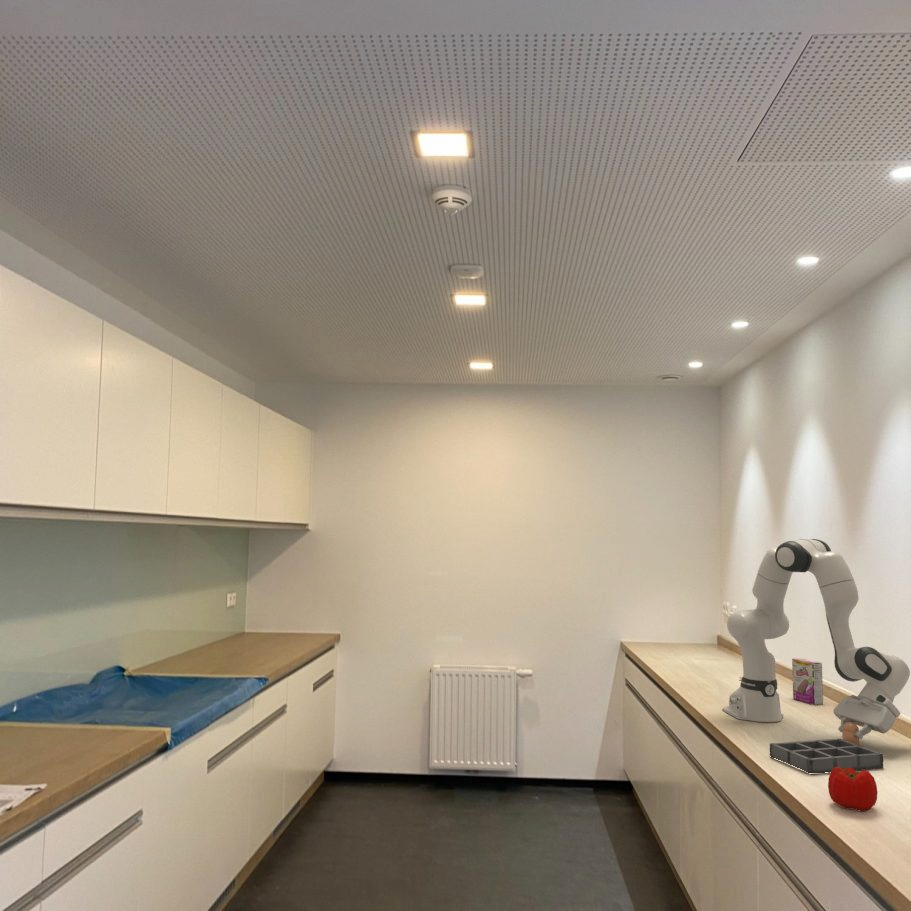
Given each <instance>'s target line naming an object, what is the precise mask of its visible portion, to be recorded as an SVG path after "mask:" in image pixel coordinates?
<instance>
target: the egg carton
mask: <svg viewBox="0 0 911 911" xmlns="http://www.w3.org/2000/svg"><path fill="white" fill-rule="evenodd" d="M770 756H771V757H773V758H776V759H778V760H781V761H783V762H786V763H788V764H790V765H793V766H795V767H797V768H800V769H802V770H804V771H806V772H808V773H823V774H826V773H825V772H831V771H832V770H833V769H834V768H835V767H840V768H841V769H842V770H843V769H845V768H853V769H854V770H855V771H856V772H858V771H862V770H865V771H869V770H879V769H881V768H882V769H884V754H883V753H882V752H878V751H875V750H873V749H870V748H868V747H865V746H861V745H860V746H859V745H856V744H853V743H851V742H848V741H845V740H843V738H830V739H829V738H827V739H814V740H801V741H787V742H786V741H784V742H772V743H769V757H770ZM771 757H770V758H771ZM773 758H772V759H773ZM778 760H777V761H778Z"/></svg>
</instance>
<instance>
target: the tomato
mask: <svg viewBox="0 0 911 911" xmlns="http://www.w3.org/2000/svg"><path fill="white" fill-rule="evenodd" d="M827 782H828V783H827V787H828V794H829V797H830V799H831V800H832V801H833V803H835V804H836V805H838V807H842V808H844V809H847V808H848V809H849V810H850V809H851V810H856V811H858V810H860V812H867V811H871V809H872V808H873V807H874V806H876V803H877V799H878V785H877V782H876V779H875V777H874V776H873V775H872V774H871V772H870V771H869V770H858V771H855V770H854V769H853V768H845V769H843V770H842V769H841V768H840V767H835V768H834V769H833V770H832V771H831V773H829V777H828V781H827ZM848 809H847V810H848Z"/></svg>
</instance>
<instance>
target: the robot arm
mask: <svg viewBox="0 0 911 911" xmlns="http://www.w3.org/2000/svg"><path fill="white" fill-rule="evenodd" d="M806 572H809V573H811V574H813V576H814V577H815V579H816V583H817V585H818V588H819V591H820V594H821V597H822V601H823V604H824V610H825V611H824V612H825V616H826V621H827V625H828V629H829V633H830V637H831V643H832V644H833V649H834V650H833V651H834V660H833V662H834V668H835V671H836V672H837V674H838V676H840V677H841V678H842V679H844V680H845V681H848V682H852V683H853V682H858V681H861V680H864V681H865V682H866V684H865V685H864V687H863V688H862V690H860V692H859V693H858V695H855V694H852V695H848V696H845V697H844V698H843V699H841V701H839V703H838V704H837V705H836V706H835V707H834V709H833V714H834V715H835V717H837V719H839V720H840V725H839V727H838V729H837V730H838V731H839V732H840V733H842V727H843V725H844V724H845V723H847V722H852V723H854V724H856V725H857V726H858V727H861V729H859V731H858V730H857V731H856V733H855V736H856V737H857V738H859V739H860V740H861V739H863V737H864V736H866V735H868V734H870V733H871V732H872V731H875V732H878V733H881V734H885V733H888V732H889V731H890V730H891V729H892V727H893V726H894V724H895V722H896V720H897V718H899V717H900V716H901V712H900V710H899V709H898V708H897V707H896V705H895V704H894V703H893V702H894V700H895V698H896V696H897V695H899V694H900V693H901V692H902V690H903V689H904V688H905V686H906V684H907V682H908V680H909V679H910V675H911V670H910V668H909V666H908V665H907V663H906V662H905V661H904V660H903V659H902V658H899V657H898V656H895V655H889V654H886V653H885V654H884V653H882V652H880V651H878V650H877V649H876V648H873V647H871V646H861V647H857V648H856V646H855V643H854V640H853V636H852V632H851V628H850V623H849V621H850V617H851V615H852V612H853V610H854V609H855V607H856V606H857V605H858V602H859V590H858V587H857V584H856V582H855V579H854V577H853V573H852V571H851V570H850V568H849V565H848V564H847V562H846V560H845V559H844V557H843V555H841V553H840V552H837V551H832V550H831V547H830V545H828V543H827V542H825V541H823V540H821V539H817V538H810V539H809V538H800V539H796V540H787V541H784V542H782V543H781V544H780V545H778V546H773V547H771V548H769V549H767V551H766V553H765V554H764V556H763V558H762V560H761V563H760V564H759V568H758V570H757V573H756V577H755V580H754V583H753V586H752V594H753V596H754V597H755V599H756V600H757V604H756V607H755V608H754V609H741V610H739V611H735V612H733V613H731V614H730V615H729V617H727V621H726V622H727V623H726V627H727V630H728V633H729V635H731V637H732V638H733V639H735V641H736V642H737V644H738V646H739V649H740V652H741V657H742V672H743V673H742V674H743V676H742V677H740V679H739V681H740V686H739V687H738V688H737V689H736V690H734V691H733V692H732V693H730V695H729V699H728V706H723V707H722V710H721V711H723V712H725V713H726V714H729V715H730V716H732V717H733V718H736V719H737V720H744V721H752V722H760V723H762V722H763V723H775V722H776V723H777V722H780V721H782V718H784V714H783V713H782V710H781V703H780V695H779V693H778V692H777V690H778V680H777V679H776V677H777V675H776V674H777V673H776V658H775V656H774V655H773V653H772V652H769V650H768V647H767V646H766V642H765V640H774V639H777V638H780V637H782V636H784V635H786V634H787V633H788V631H789V628H790V621H789V618H788V615H787V614H786V613H785V611H784V610H785V609H784V602H785V598H786V594H787V591H788V588H789V583H790V581H791V578H792V575H793V573H806Z"/></svg>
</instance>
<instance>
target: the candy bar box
mask: <svg viewBox="0 0 911 911" xmlns="http://www.w3.org/2000/svg"><path fill="white" fill-rule="evenodd" d="M791 661H792V662H791V663H792V664H791V665H792V696H793V698H792V700H795V701H799V702H802V703H805V704H809V705H812V704H813V705H814V706H818V705H817V704H821V705H824V694H823V693H824V688H823V685H824V684H823V662H821V661H820V662H819V661H816V660H812V659H807V658H803V657H796V658H795V657H794V658H792V659H791ZM813 705H812V706H813Z"/></svg>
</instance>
